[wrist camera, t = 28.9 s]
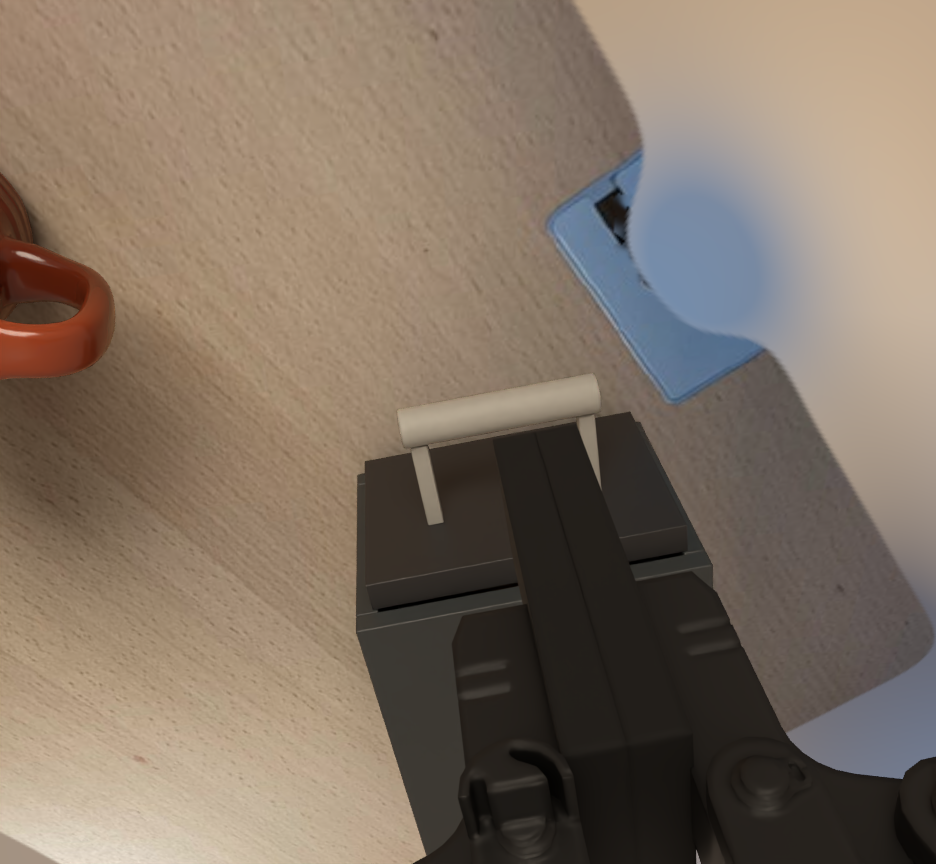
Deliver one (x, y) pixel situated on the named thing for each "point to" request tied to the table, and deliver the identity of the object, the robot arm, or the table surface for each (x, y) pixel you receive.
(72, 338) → the mug
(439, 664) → the cabinet
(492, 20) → the table surface
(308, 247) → the table surface
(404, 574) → the drawer
